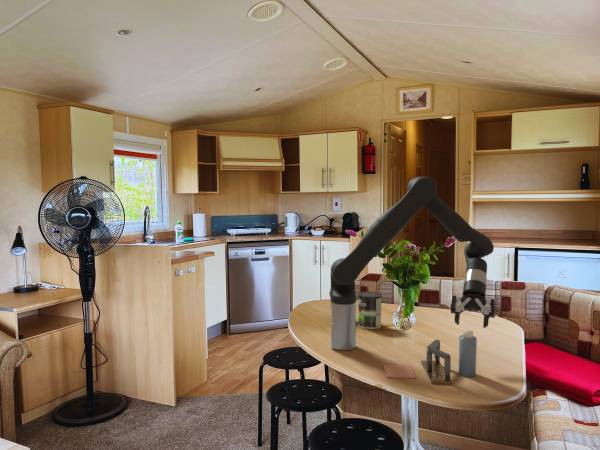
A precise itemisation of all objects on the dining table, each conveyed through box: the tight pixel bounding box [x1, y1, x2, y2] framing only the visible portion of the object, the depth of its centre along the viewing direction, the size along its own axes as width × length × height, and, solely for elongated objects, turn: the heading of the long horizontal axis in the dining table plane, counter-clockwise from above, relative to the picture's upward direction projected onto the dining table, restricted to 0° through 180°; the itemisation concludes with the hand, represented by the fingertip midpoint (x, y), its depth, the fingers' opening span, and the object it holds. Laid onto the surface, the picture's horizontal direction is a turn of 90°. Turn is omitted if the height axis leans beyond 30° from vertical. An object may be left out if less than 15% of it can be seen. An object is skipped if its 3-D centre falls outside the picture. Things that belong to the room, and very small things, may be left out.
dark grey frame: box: [420, 339, 453, 385], centre depth 150 cm, size 6×17×9 cm, turn 176°
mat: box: [383, 364, 417, 379], centre depth 152 cm, size 9×10×1 cm
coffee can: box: [357, 291, 383, 330], centre depth 203 cm, size 10×10×14 cm
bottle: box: [458, 329, 478, 378], centre depth 149 cm, size 5×5×14 cm
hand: (470, 325), depth 156 cm, fingers open, 8 cm apart
